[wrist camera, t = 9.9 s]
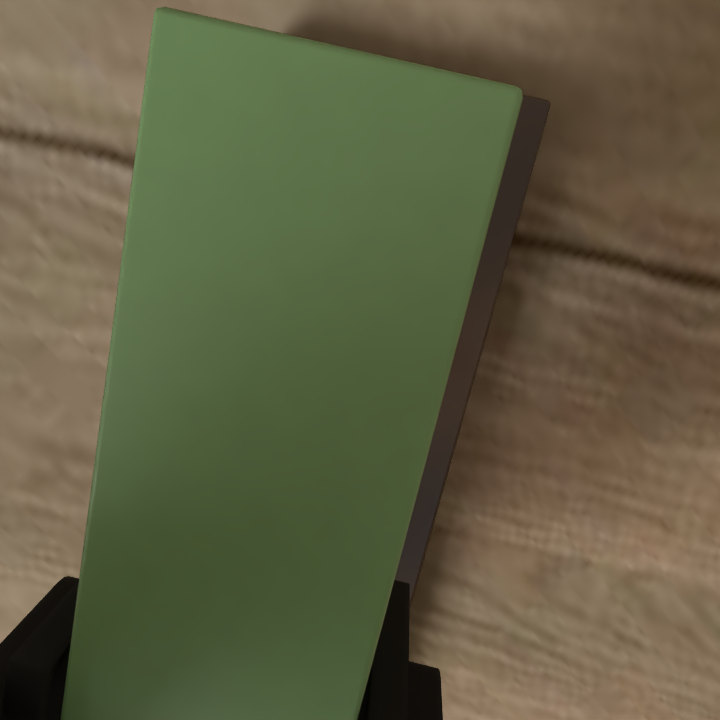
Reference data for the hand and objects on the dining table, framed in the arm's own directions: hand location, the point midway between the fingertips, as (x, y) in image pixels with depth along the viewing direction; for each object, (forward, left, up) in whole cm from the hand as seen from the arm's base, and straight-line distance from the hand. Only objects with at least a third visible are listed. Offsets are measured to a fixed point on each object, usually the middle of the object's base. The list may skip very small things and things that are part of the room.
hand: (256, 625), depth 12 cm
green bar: (0, 0, 0) cm, 0 cm away
